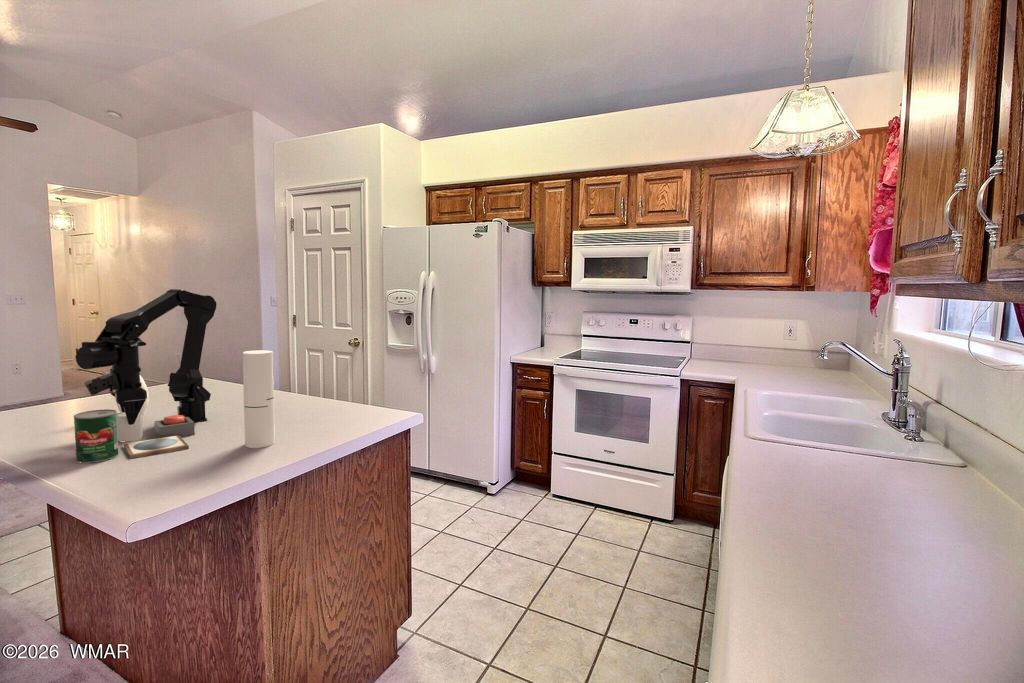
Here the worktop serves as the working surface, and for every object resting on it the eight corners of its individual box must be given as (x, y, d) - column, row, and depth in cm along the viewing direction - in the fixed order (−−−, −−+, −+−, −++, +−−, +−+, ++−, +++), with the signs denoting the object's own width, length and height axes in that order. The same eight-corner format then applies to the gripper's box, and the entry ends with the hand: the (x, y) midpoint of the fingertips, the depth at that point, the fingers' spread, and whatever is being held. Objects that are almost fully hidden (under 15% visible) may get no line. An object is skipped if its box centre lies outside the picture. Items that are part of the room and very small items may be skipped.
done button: (182, 421, 141) (182, 414, 141) (186, 424, 138) (186, 417, 137) (162, 423, 138) (162, 416, 137) (165, 427, 134) (165, 420, 134)
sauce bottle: (136, 421, 149) (133, 363, 147) (111, 420, 149) (108, 362, 147) (155, 415, 157) (152, 359, 155) (131, 414, 157) (128, 359, 155)
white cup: (131, 443, 129) (130, 417, 128) (106, 442, 129) (104, 416, 128) (151, 435, 136) (150, 411, 135) (127, 434, 136) (125, 410, 135)
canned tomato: (83, 466, 112) (80, 419, 111) (70, 459, 116) (67, 413, 115) (124, 456, 119) (122, 412, 118) (111, 450, 123) (109, 407, 122)
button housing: (188, 428, 144) (187, 416, 143) (194, 434, 138) (194, 422, 138) (154, 433, 138) (154, 421, 138) (160, 439, 132) (159, 427, 132)
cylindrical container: (280, 441, 134) (279, 351, 131) (259, 449, 127) (257, 354, 124) (260, 438, 136) (258, 349, 133) (238, 445, 129) (236, 352, 127)
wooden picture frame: (178, 437, 134) (178, 434, 134) (188, 448, 126) (188, 444, 126) (123, 446, 126) (123, 442, 126) (130, 458, 117) (130, 454, 117)
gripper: (83, 362, 131) (86, 418, 133) (89, 371, 118) (92, 434, 120) (134, 359, 139) (137, 412, 141) (145, 367, 126) (148, 426, 127)
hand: (128, 420), depth 132 cm, fingers open, 9 cm apart
